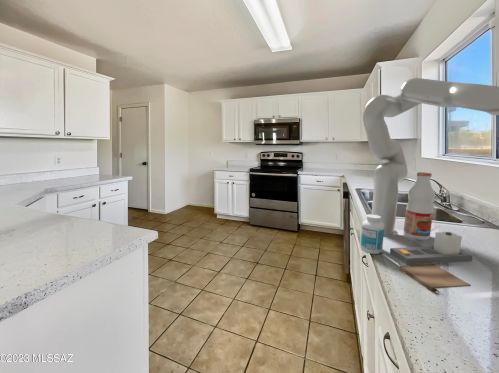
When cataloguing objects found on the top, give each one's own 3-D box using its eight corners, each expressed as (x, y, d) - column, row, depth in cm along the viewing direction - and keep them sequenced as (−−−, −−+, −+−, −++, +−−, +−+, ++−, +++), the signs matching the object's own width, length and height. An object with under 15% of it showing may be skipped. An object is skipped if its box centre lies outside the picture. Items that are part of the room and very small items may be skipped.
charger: (432, 253, 88) (435, 230, 86) (446, 252, 88) (450, 230, 87) (443, 259, 83) (447, 235, 82) (458, 258, 84) (462, 234, 82)
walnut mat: (399, 269, 79) (400, 265, 79) (433, 267, 80) (434, 263, 80) (430, 291, 67) (431, 287, 67) (469, 288, 68) (470, 284, 68)
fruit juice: (410, 232, 111) (418, 171, 107) (433, 239, 103) (443, 173, 98) (398, 235, 107) (405, 172, 102) (421, 243, 99) (430, 174, 94)
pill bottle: (375, 246, 96) (378, 213, 94) (386, 254, 89) (390, 219, 86) (356, 246, 96) (359, 213, 94) (365, 255, 89) (369, 219, 86)
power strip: (389, 256, 88) (390, 246, 87) (449, 253, 91) (451, 243, 90) (405, 267, 80) (407, 256, 80) (471, 263, 83) (473, 253, 82)
